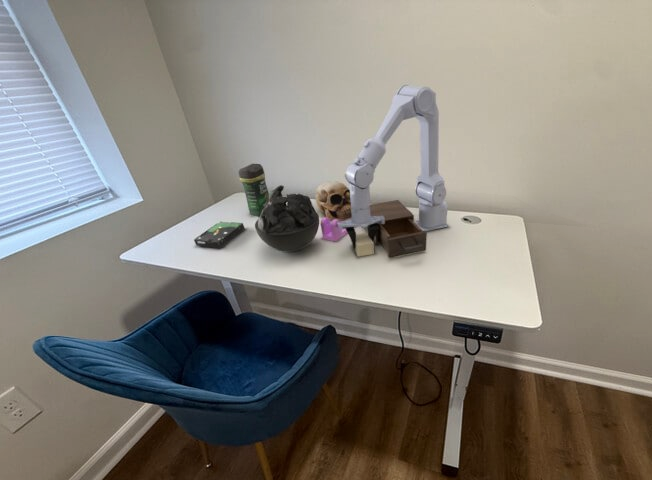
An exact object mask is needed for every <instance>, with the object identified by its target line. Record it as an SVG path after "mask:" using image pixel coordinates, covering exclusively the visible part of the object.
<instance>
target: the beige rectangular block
mask: <svg viewBox="0 0 652 480" xmlns="http://www.w3.org/2000/svg"><path fill="white" fill-rule="evenodd" d="M374 243H375V242H374V240H373V241H372V240H371V238H370V237H369V235H368V232H363V233H356V242H355V245H356V250H354V251H355V253H356V256H357V257H358V258H359V257H365V256H370V255H371V256H372V255H374V254H375V248H374V247H375V246H374V245H375V244H374Z"/></svg>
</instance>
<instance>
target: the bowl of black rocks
mask: <svg viewBox="0 0 652 480" xmlns="http://www.w3.org/2000/svg"><path fill="white" fill-rule="evenodd" d="M284 188H285V186H284V185H279V186H277V187H276V188H275V189H273V190H271V191H270V192H269V198H268V199H267V201H266V203H265V206H264V209H263V210H262V213H261V215H259V217H258V219H257V220H256V221H255V223H254V229H255V231H256V233H257V235H258V237H259V238H260V239H261V240H262V241H263V243H265V244H266V245H267V246H269V247H270V248H272V249H274V250H277V251H280V252H287V253H293V252H296V251H299V250H302V249H304V248H306V247H307V246H309V245H310V244H311V243H312V242H313V240H314V239H315V237H316V236H317V234H318V231H319V227H320V215H319V213H318V212H317V211H316V209H315V207H314V205H313V203H312V200H311V198H310V197H309V196H308V195H303V194H301V193H298V194H297V193H289V194H285V196H284V195H283V194H282V192H283V191H284Z"/></svg>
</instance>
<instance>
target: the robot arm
mask: <svg viewBox="0 0 652 480" xmlns="http://www.w3.org/2000/svg"><path fill="white" fill-rule="evenodd" d="M439 113H440V112H439V109H438V105H437V93H436V92H435V91H434V90H433V89H431V87H429V86H417V85H416V86H415V85H408V84H403V85H401V86H400V87H399V88H398V89H397V92H396V94H395V95H394V96H393V97H392V102H391V106H390V108H389V110H388V112H387V114H386V116H385V118H384V119H383V121H382V123H381V125H380V127H379V129H378V130H377V132H376V134H375V136H374V137H372V138H368V140H367V141H364V143H363V147H362V149H361V151H360V152H359V154H358V156H357V157H355V159H354V162H352V163H351V164H349V165H348V167H347V168H346V171H345V173H344V179H345V181H346V182H347V183H348V187H349V189H350V199H351V213H352V219H349V220H345V221H342V222H338V229H339V231H342V230H343V229H346V231H347V234H348V236H349V239H350V241H351V244H352V248H353V250H354V251H355V250H356V245H355V242H356V234H357V232H356V229H355V228H364V229H366V228H365V227H367V229H368V231H367V233H368V235H369V237H370V238H371V240H372V241H373V242H374V237H375V235H376V233H377V231H378V229H379V227H378V225H377V224H380V223H381V224H385V218H384V217H383V216H370V205H371V191H370V190H371V189H370V188H371V187H370V185H371V184H372V183H373V182H374V179H375V178H374V177H375V176H374V174H375V172H376V169H377V167H378V166H379V164H380V162H381V160H382V159H383V157H384V156H385V154H386V152H387V149H386V144H387V143H388V142H389V140H391V138H392V137H393V135H394V133H395V132H396V131H397V129H398V128H399V126H400V125H401V124H402V122H403V121H405V120H409V119H413V118H415V119H417V120H418V122H419V145H420V149H419V151H420V174H419V175H417V177H416V184H415V187H414V193H415V196H416V197H417V200H418V201H419V203H418V220H414V223H415V224H416V225H417V226H418V227H419V228H420V229H421V230H422V231H426V232H429V231H433V230H434V231H435V230H438V229H439V230H440V229H445V228H448V225H447V221H448V208H449V207H448V203H447V201H446V200H445V199H446V196H447V188H446V185H445V179H444V178H443V177H442V175H441V174H440V173H439V132H440V131H439V128H440V127H439V123H440V121H439V119H440V118H439V117H440V116H439V115H440V114H439Z"/></svg>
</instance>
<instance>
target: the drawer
mask: <svg viewBox="0 0 652 480" xmlns="http://www.w3.org/2000/svg"><path fill="white" fill-rule="evenodd" d="M414 222H415V221H414ZM414 222H413V221H412V220H411V219H410V218H406V219H401V220H396V221H390V222H385V224H381V223H380V224H377V225H378V227H379V229H378V231H377V232H378V239H379V241H380V242H381V243H380V244H381V245H382V246H383V248H384V249H385V251H386V252H387V257H388V259H393V258H397V257H402V256H406V255H410V254H415V253H419V252H425V251H427V237H428V231H422V230H421V229H420V228H419V227H418V226H417V225H416V224H415V223H414Z"/></svg>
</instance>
